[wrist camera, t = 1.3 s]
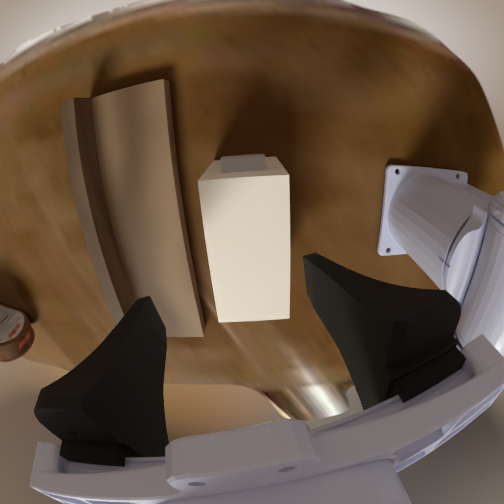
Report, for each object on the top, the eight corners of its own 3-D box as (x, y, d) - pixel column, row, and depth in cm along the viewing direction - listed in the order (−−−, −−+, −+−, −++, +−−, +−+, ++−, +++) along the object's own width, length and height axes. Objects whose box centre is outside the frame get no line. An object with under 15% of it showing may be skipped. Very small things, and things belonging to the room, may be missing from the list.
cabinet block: (275, 145, 19) (288, 159, 13) (279, 264, 24) (289, 318, 17) (213, 149, 19) (195, 165, 13) (225, 267, 24) (218, 322, 17)
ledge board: (169, 81, 16) (151, 74, 13) (205, 326, 27) (200, 356, 23) (88, 102, 17) (60, 103, 13) (141, 326, 27) (129, 353, 23)
